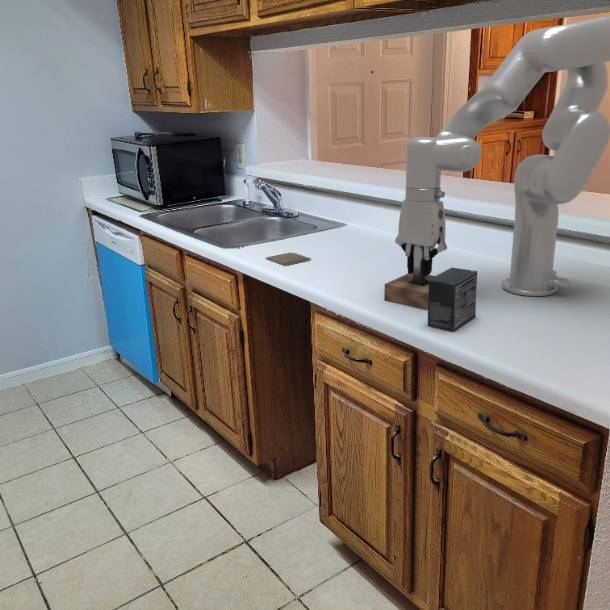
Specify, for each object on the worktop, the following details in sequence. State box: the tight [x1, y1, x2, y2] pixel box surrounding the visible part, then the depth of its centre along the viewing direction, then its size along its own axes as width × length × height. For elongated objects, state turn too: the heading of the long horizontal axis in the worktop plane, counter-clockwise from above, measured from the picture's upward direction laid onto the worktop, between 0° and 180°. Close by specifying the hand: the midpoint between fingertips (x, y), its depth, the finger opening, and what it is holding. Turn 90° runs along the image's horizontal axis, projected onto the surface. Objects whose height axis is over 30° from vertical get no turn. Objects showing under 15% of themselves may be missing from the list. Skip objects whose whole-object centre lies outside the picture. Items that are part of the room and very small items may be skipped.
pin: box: [412, 245, 425, 284], centre depth 140 cm, size 3×3×10 cm
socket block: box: [383, 273, 436, 311], centre depth 142 cm, size 12×12×4 cm
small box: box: [427, 267, 478, 333], centre depth 127 cm, size 11×6×10 cm, turn 141°
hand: (419, 273), depth 141 cm, fingers closed on pin, 3 cm apart
